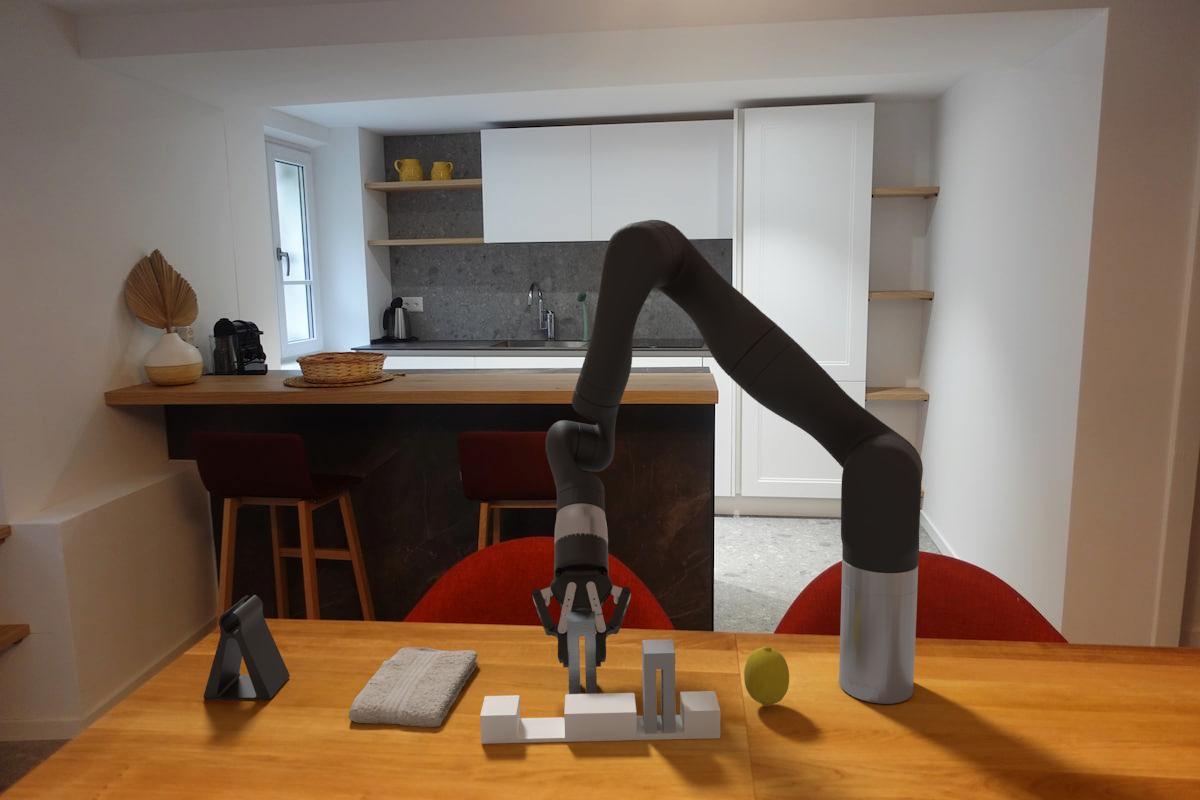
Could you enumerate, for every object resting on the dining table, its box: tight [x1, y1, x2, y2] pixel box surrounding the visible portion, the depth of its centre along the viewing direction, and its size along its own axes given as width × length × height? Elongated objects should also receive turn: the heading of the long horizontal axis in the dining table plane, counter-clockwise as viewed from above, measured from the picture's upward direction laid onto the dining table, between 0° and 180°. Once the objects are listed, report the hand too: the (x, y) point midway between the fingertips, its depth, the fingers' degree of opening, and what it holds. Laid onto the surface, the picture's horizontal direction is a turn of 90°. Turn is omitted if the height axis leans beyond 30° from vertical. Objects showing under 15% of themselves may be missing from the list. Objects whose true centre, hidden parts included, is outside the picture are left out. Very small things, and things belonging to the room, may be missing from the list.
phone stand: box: [202, 594, 291, 701], centre depth 108 cm, size 9×6×12 cm, turn 87°
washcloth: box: [348, 646, 479, 728], centre depth 107 cm, size 12×18×3 cm, turn 173°
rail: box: [479, 638, 721, 745], centre depth 96 cm, size 28×4×10 cm, turn 91°
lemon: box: [743, 645, 790, 708], centre depth 101 cm, size 6×6×8 cm
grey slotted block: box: [567, 610, 598, 694], centre depth 106 cm, size 4×4×10 cm
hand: (582, 664), depth 104 cm, fingers closed on grey slotted block, 3 cm apart
